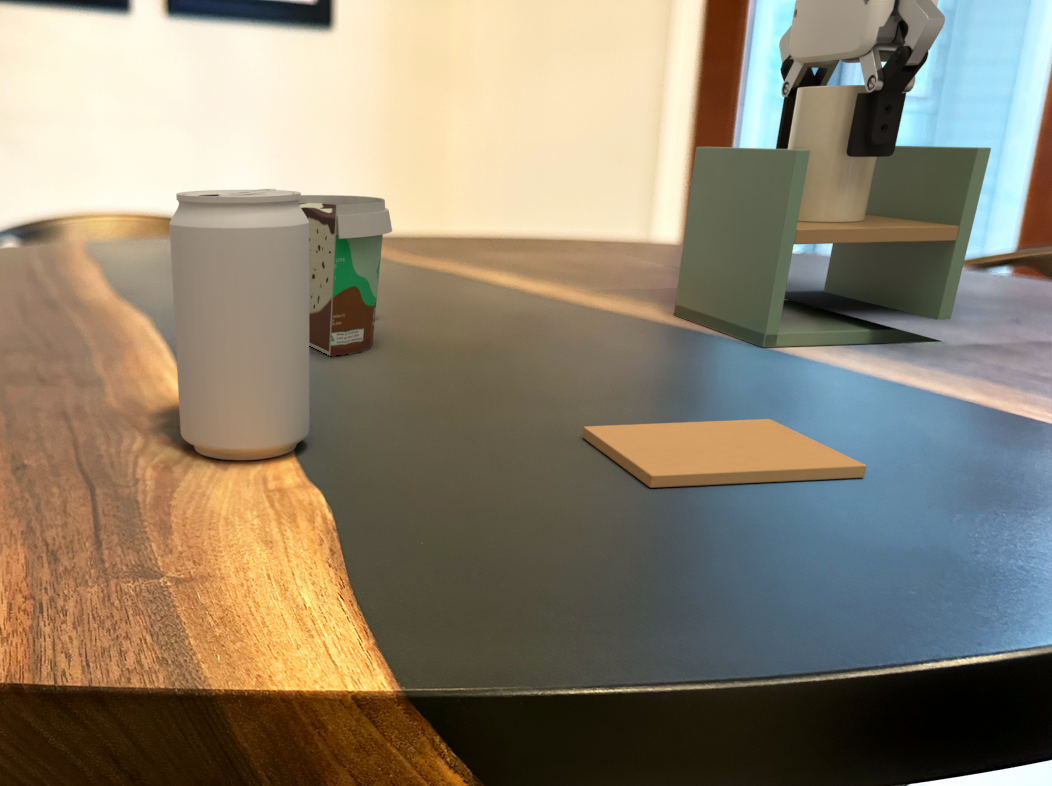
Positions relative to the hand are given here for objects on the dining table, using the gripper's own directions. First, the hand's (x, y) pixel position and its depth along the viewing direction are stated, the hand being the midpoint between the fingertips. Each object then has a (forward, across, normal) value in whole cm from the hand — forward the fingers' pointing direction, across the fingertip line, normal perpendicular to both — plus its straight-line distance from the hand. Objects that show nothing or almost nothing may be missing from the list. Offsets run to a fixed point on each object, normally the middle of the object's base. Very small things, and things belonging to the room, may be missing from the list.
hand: (830, 154), depth 74 cm
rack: (+13, 0, 0) cm, 13 cm away
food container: (+13, 0, +36) cm, 38 cm away
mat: (+13, -31, +23) cm, 41 cm away
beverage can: (+13, -26, +45) cm, 54 cm away
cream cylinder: (+5, 0, 0) cm, 5 cm away
